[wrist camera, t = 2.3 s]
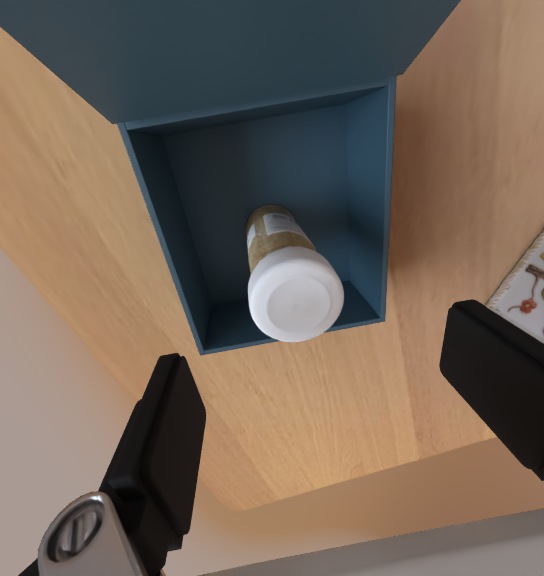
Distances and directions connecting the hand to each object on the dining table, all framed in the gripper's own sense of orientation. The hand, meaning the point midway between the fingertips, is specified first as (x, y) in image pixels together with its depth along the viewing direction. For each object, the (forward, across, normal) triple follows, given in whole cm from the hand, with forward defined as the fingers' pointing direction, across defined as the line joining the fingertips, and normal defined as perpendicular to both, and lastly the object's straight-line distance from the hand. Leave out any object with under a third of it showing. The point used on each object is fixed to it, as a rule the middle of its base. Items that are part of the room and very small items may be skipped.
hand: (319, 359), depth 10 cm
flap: (+5, 0, -10) cm, 12 cm away
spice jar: (+17, 0, 0) cm, 17 cm away
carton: (+17, 0, -2) cm, 17 cm away
